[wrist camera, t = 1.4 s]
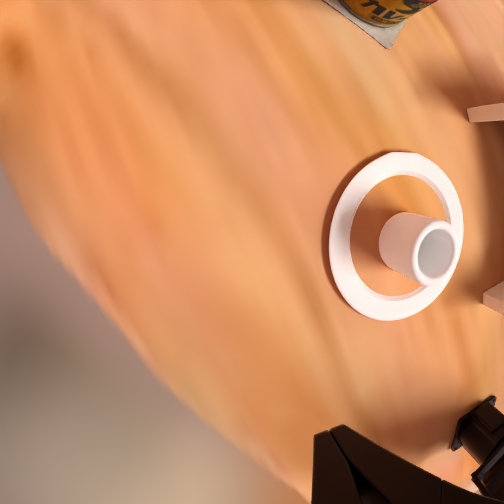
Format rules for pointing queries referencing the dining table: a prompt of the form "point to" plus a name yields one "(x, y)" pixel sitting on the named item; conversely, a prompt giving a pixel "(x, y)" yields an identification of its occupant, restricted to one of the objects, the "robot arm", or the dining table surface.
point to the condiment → (380, 15)
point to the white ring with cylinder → (399, 239)
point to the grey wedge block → (500, 295)
